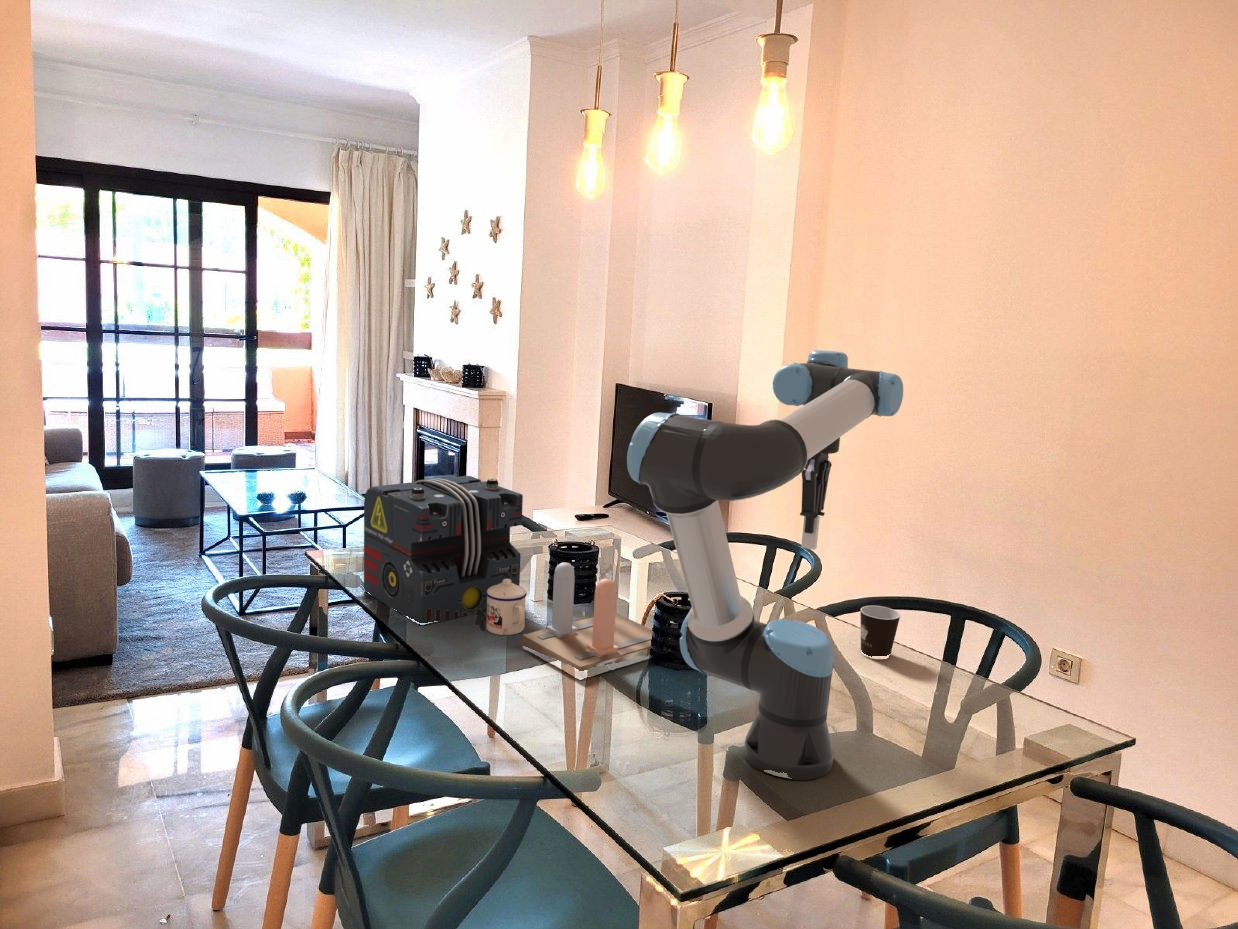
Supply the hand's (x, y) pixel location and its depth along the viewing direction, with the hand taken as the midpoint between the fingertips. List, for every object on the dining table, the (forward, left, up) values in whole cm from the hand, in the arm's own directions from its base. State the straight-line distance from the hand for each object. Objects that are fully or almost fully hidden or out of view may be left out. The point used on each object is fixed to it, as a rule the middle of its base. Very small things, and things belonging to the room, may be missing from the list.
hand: (808, 547), depth 185 cm
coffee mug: (+28, -10, -30) cm, 42 cm away
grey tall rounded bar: (-10, +50, -26) cm, 57 cm away
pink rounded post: (-14, +37, -26) cm, 48 cm away
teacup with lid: (-10, +64, -30) cm, 71 cm away
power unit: (-2, +89, -30) cm, 94 cm away
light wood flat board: (-8, +42, -29) cm, 52 cm away
